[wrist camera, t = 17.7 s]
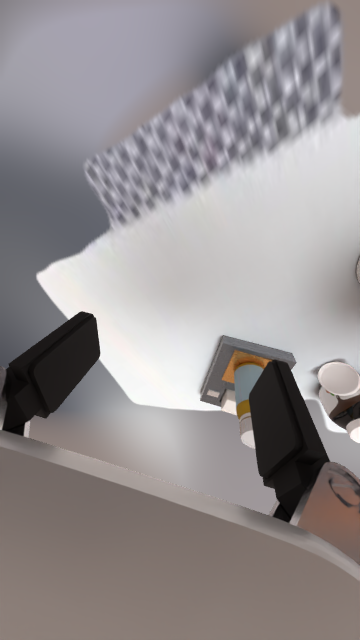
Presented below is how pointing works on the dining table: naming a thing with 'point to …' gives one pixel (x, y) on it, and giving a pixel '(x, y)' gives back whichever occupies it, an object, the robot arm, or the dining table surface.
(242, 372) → the bottle
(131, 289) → the dining table surface
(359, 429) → the spread jar
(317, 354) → the dining table surface
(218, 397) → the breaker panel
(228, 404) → the switch
